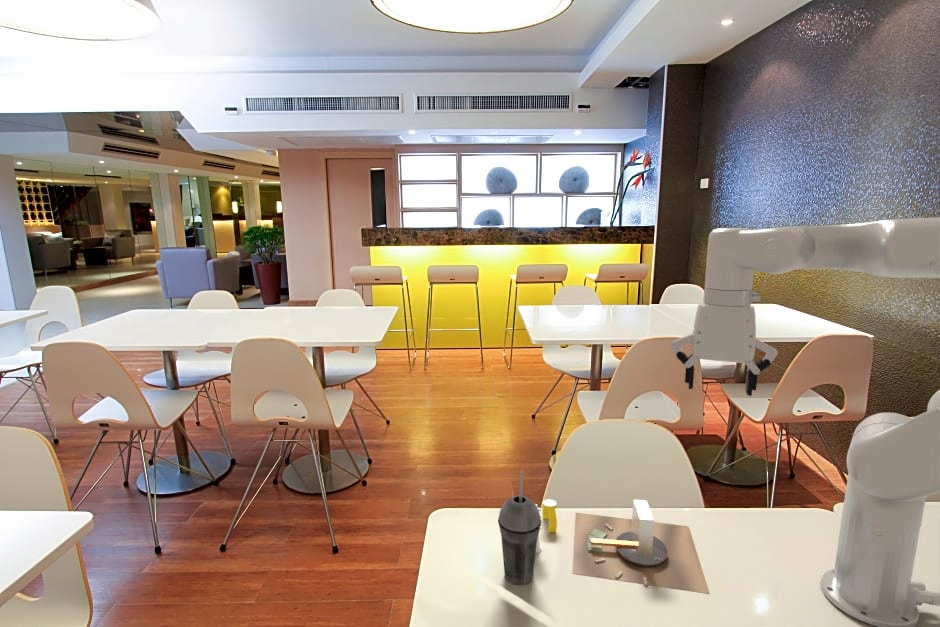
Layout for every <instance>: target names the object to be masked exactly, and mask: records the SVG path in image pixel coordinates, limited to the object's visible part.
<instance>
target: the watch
mask: <svg viewBox="0 0 940 627" xmlns="http://www.w3.org/2000/svg"><path fill="white" fill-rule="evenodd" d="M557 506H558V504H557V501H556V500H553V499H550V498H549V499H545V500H543V501H542V519H543V520H545V519H546V520H547V519H549V520H548V521H549V524H548V525H549V527H548V528H549V529H548V533H557V530H558V529H557V526H558V525H557V523H558V520H557V513H556V508H557Z"/></svg>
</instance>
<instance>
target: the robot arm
mask: <svg viewBox="0 0 940 627" xmlns="http://www.w3.org/2000/svg"><path fill="white" fill-rule="evenodd" d="M707 242H708V243H707V253H706V254H707V255H706V266H705V267H706V268H705V278H704V292H703V302H701V303H698V305H697V310H696V314H695V317H694V322H693V323H694V324H693V332H692V333H690V334H688V335H686V336H683V337H680V338H677V339H675V340H673V341H671V347H672V350H673V352H674V354H675V355H676V358H677V359H678V360H679V361H680V363H682V364H683V365H684V367H685V376H684V384H688V390H693V389H694V379H695V377H694V376H695V364H696V363H697V362H698V361H699V360H704V361H705V360H706V361H712V362H713V361H714V362H726V363H727V362H728V363H737V364H745V365H746V366H747V368H748V370H747V372H746V381H745V393H746V395H747V396H748V397H752V393H753V391H757V387H758V386H757V384H758V375H760V373H761V372H762V371H764V370H765V369H767V368H768V367H770V366H771V364H772V362H773V361H774V360H775V358H777V356H778V355H779V351H778V350H777V348H775V347H773V346H771V345H769V344H767V343H765V342H763V341H761V340H760V339H758V338H757V336H756V333H757V329H756V328H757V326H756V310H755V306H753V305H752V303H754V302H760V301H761V298H762V294H761V293H759V292H758V293H757V292H755V291H754V290H753V282H754V281H753V280H754V272H759V273H765V274H770V275H772V274H773V275H782V274H786V273H789V272H792V271H794V270H835V271H838V270H839V271H850V272H851V271H852V272H853V271H854V272H861V273H865V274H868V275H871V276H875V277H882V278H893V279H894V278H895V279H897V278H901V279H902V278H907V279H909V278H910V279H914V278H915V279H940V217H939V216H938V217H919V218H917V217H916V218H915V217H914V218H893V219H882V220H881V219H880V220H875V221H870V222H864V223H863V222H861V223H852V224H851V223H849V224H848V223H847V224H830V225H829V224H828V225H825V224H824V225H802V226H801V225H799V226H793V225H792V226H778V227H772V228H771V227H770V228H765V229H763V228H762V229H754V230H753V229H752V228H747V227H746V228H745V227H744V228H743V227H721V228H719V227H718V228H715V229H713V230H712V231H710V233H709V234H708V240H707ZM688 344H691V350H692V353H690V354H689V355H688V356H687V354H686V353H685V352H684V351H683V349H682V347H683V346H685V345H688ZM756 349H758V350H760V351H762V352H764V353H766V354H765V355H764V357H763V358H762V359H760V360H758V361H757V362H756V361H755V360H754V358H755V356H756V355H755V354H756ZM849 444H850V445H849V447H848V450H847V454H846V469H847V471H848V474H847V480H846V488H845V492H844V493H845V494H844V502H843V504H842V506H843V507H842V514H841V521H840V526H839V534H838V540H837V548H836V554H835V562H834V569H829V570H826V571H825V572H824V573H823V574H822V576H821V579H820V587H821V590H822V593H823V594H824V595H825V597H826V598H827V600H829V601H830V602H831V603H832V604H833V605H834V606H835V607H836V608H838V609H839V610H841V611H842V612H844V613H845V614H846V615H849V616H850V617H852V618H854V619H856V620H859V621H861V622H863V623H866V624H868V625H870V626H874V627H915V626H916V625H917V624H918V622H919V618H920V610H919V608H918V606H922V605H923V604H926V605H929V606H936V607H937V606H938V607H940V592H937V591H930V590H926V585H925V583H923V582H920V581H912V577H913V571H914V567H915V560H916V554H917V553H916V552H917V548H918V543H919V537H920V532H921V527H922V521H923V518H924V510H925V505H926V499H927V498H928V497H931V496H934V495H936V494H939V493H940V389H939V390H937V391H935V393H934V394H933V395H932V396H931V398H930V399H929V401H928V403H927V407H926V411H924V412H922V413H920V414H918V415H916V416H913V417H909V416H906V415H904V414H901V413H897V412H879V413H878V412H877V413H875V414H872V415H870V416H868V417H866V418H864V419H863V420H861V422H860V423H859V424H858V425H857V426H856V428H855V429H854V432H853V435H852V438H851V441H850V443H849Z"/></svg>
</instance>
